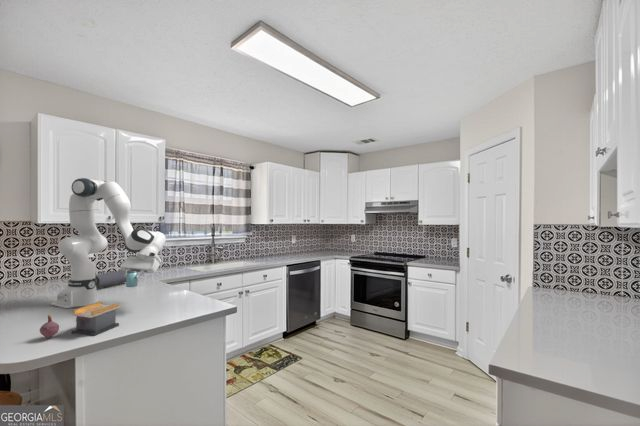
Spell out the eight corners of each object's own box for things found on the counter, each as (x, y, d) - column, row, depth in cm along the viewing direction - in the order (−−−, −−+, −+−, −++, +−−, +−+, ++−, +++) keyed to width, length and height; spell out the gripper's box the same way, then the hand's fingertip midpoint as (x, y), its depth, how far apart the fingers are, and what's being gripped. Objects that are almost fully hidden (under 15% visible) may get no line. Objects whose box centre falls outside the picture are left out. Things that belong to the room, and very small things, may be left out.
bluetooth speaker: (122, 282, 221) (123, 268, 222) (131, 283, 218) (132, 270, 218) (90, 289, 200) (90, 274, 200) (99, 290, 197) (100, 275, 197)
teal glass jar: (123, 286, 155) (124, 271, 155) (131, 284, 160) (132, 269, 160) (132, 287, 154) (132, 272, 154) (139, 285, 159) (140, 270, 159)
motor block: (65, 333, 128) (65, 309, 128) (94, 322, 142) (95, 300, 142) (93, 336, 126) (93, 312, 126) (120, 324, 139) (121, 303, 140)
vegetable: (48, 335, 126) (48, 311, 126) (63, 335, 126) (63, 311, 127) (35, 341, 120) (35, 316, 120) (51, 341, 120) (51, 316, 120)
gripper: (127, 251, 166) (110, 272, 156) (159, 254, 162) (144, 275, 152) (133, 258, 170) (117, 279, 160) (164, 261, 166) (150, 282, 157)
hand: (131, 277), depth 156 cm, fingers closed on teal glass jar, 5 cm apart
